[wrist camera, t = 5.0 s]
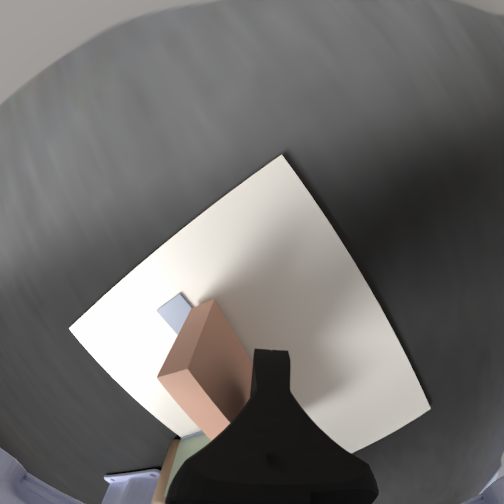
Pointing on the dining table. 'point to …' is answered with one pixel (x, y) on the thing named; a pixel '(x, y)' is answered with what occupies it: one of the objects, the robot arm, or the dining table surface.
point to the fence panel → (208, 370)
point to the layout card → (263, 312)
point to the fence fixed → (176, 463)
